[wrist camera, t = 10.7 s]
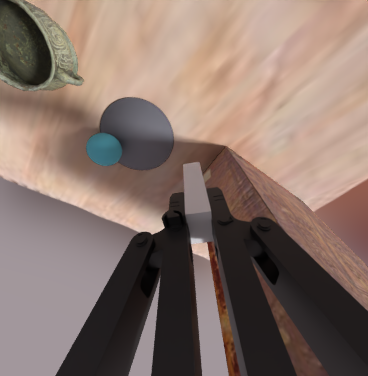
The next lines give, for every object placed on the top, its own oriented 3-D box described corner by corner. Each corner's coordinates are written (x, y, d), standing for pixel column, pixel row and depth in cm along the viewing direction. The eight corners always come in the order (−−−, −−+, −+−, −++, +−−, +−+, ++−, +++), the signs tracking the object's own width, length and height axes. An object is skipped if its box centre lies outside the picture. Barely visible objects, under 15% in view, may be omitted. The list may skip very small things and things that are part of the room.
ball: (107, 126, 29) (75, 137, 26) (119, 130, 25) (84, 143, 23) (119, 154, 32) (92, 166, 30) (131, 161, 29) (102, 175, 26)
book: (302, 201, 39) (518, 416, 14) (271, 223, 43) (396, 419, 18) (225, 144, 30) (422, 431, 6) (196, 179, 35) (238, 431, 10)
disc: (86, 105, 26) (86, 105, 26) (164, 90, 25) (164, 90, 25) (117, 173, 33) (117, 174, 33) (179, 164, 33) (179, 164, 32)
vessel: (102, 53, 23) (80, 46, 17) (83, 109, 27) (59, 116, 21) (0, -28, 18) (-70, -69, 13) (-6, 52, 22) (-62, 45, 17)
